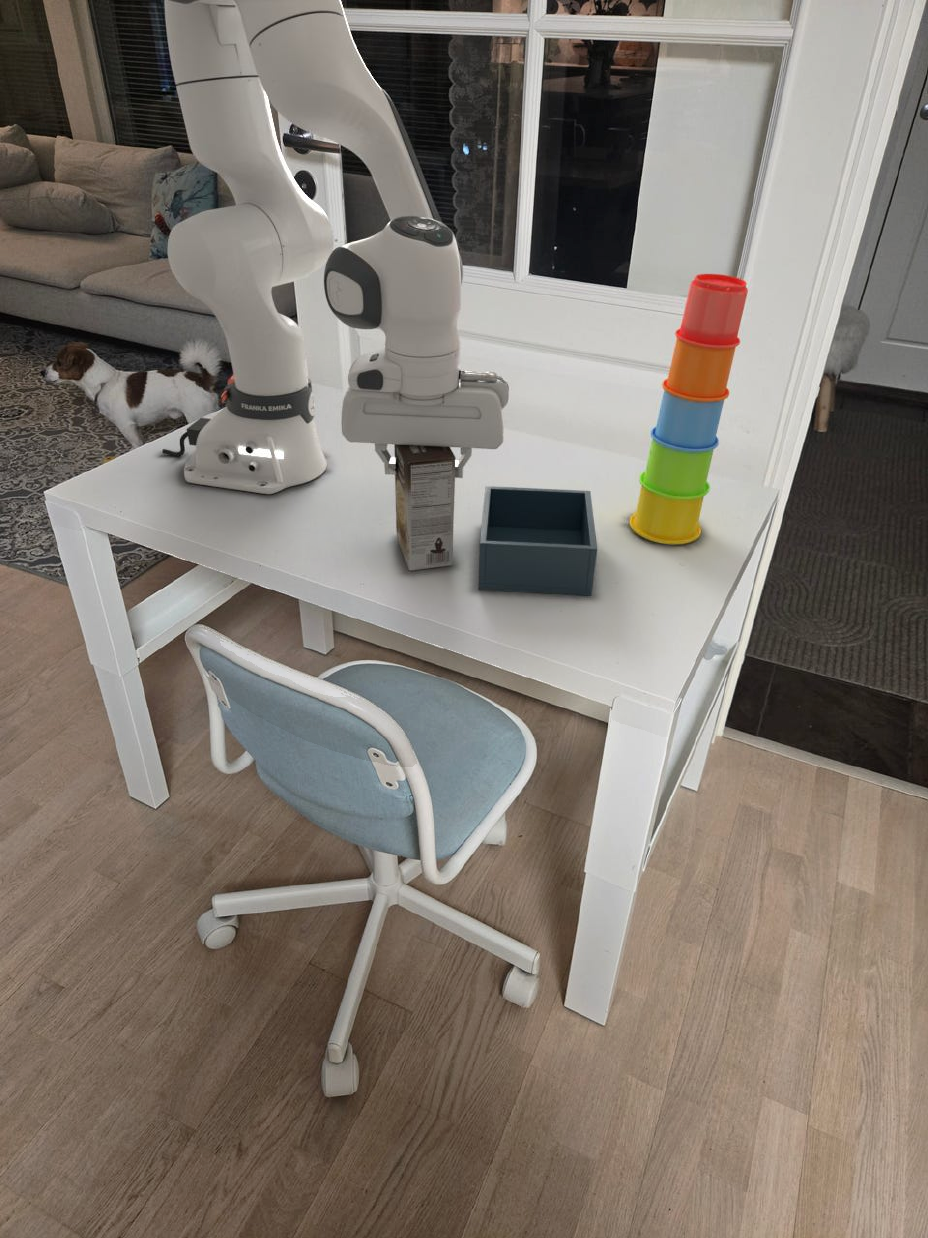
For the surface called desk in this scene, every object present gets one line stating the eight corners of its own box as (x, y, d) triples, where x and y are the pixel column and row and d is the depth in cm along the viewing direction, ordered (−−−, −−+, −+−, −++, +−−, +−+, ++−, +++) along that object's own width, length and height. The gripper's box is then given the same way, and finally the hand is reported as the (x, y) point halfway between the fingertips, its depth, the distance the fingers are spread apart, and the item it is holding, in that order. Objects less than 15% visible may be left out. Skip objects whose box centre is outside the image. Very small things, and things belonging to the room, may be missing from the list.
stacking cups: (628, 508, 124) (666, 266, 104) (697, 515, 123) (749, 271, 102) (629, 543, 116) (670, 288, 95) (703, 550, 115) (760, 293, 94)
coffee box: (394, 537, 116) (392, 430, 106) (438, 532, 117) (439, 426, 108) (408, 572, 109) (407, 461, 99) (454, 566, 110) (457, 456, 101)
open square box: (478, 589, 106) (479, 543, 102) (484, 529, 118) (485, 485, 114) (591, 595, 105) (597, 549, 101) (585, 534, 118) (590, 490, 114)
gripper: (510, 363, 100) (504, 467, 108) (344, 356, 101) (351, 459, 109) (509, 382, 95) (503, 489, 103) (334, 374, 96) (342, 481, 104)
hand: (423, 474), depth 106 cm, fingers closed on coffee box, 7 cm apart
